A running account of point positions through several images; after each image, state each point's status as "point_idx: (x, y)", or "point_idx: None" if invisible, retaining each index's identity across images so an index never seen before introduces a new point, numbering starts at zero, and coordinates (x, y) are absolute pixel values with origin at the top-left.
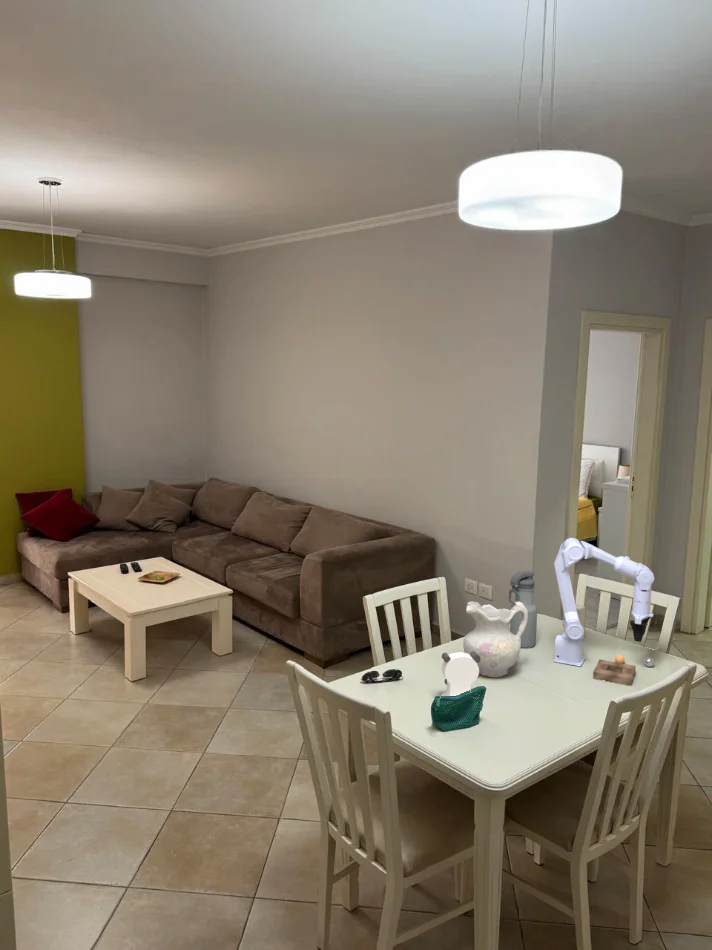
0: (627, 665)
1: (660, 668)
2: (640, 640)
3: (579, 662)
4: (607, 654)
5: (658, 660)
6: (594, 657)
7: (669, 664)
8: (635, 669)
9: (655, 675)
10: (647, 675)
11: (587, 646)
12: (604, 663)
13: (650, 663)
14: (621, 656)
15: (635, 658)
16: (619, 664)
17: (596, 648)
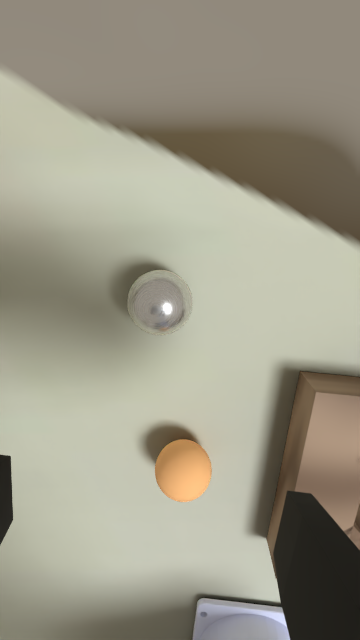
0: (327, 439)
1: (165, 223)
2: (326, 518)
3: (280, 625)
4: (77, 506)
5: (25, 237)
6: (151, 558)
7: (63, 162)
8: (307, 380)
9: (303, 254)
10: (319, 302)
11: (14, 587)
12: None
13: (190, 293)
14: (195, 478)
15: (63, 372)
16: (323, 482)
17: (18, 552)
